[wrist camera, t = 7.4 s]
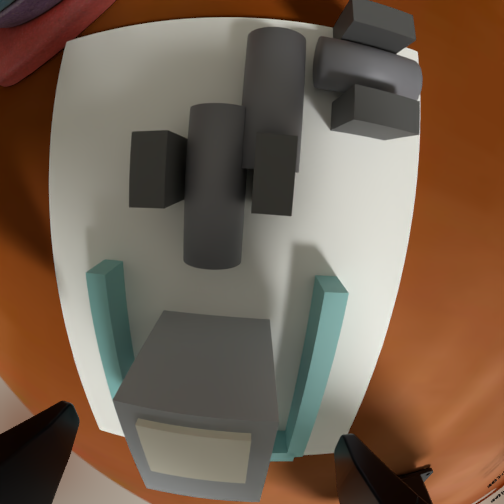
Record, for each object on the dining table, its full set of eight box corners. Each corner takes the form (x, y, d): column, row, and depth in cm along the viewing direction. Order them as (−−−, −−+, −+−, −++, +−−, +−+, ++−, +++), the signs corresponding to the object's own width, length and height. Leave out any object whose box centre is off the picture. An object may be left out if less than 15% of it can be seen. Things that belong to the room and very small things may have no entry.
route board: (336, 442, 14) (346, 484, 11) (104, 421, 14) (86, 457, 11) (408, 57, 8) (450, 32, 5) (75, 46, 8) (33, 24, 5)
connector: (258, 410, 12) (259, 507, 7) (172, 401, 12) (145, 493, 7) (269, 319, 11) (279, 429, 6) (163, 310, 11) (109, 406, 6)
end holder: (297, 439, 13) (300, 460, 11) (135, 423, 13) (127, 442, 11) (336, 276, 10) (348, 293, 9) (104, 259, 10) (85, 272, 9)
